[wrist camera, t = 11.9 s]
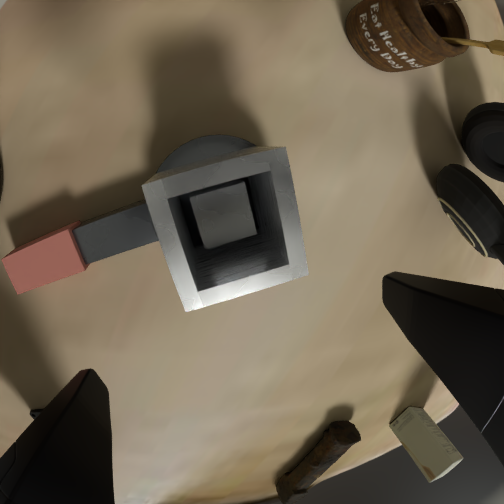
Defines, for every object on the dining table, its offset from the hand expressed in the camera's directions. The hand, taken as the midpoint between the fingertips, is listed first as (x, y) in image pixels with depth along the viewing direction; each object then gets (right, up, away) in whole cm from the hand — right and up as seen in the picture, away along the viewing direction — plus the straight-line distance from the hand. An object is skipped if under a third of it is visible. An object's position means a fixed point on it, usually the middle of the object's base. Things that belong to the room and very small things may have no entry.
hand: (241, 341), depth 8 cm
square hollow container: (-1, +5, +7) cm, 9 cm away
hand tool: (+8, -26, +24) cm, 36 cm away
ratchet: (-7, +4, +9) cm, 12 cm away
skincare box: (+23, -22, +26) cm, 41 cm away
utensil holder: (+9, +18, +7) cm, 21 cm away
